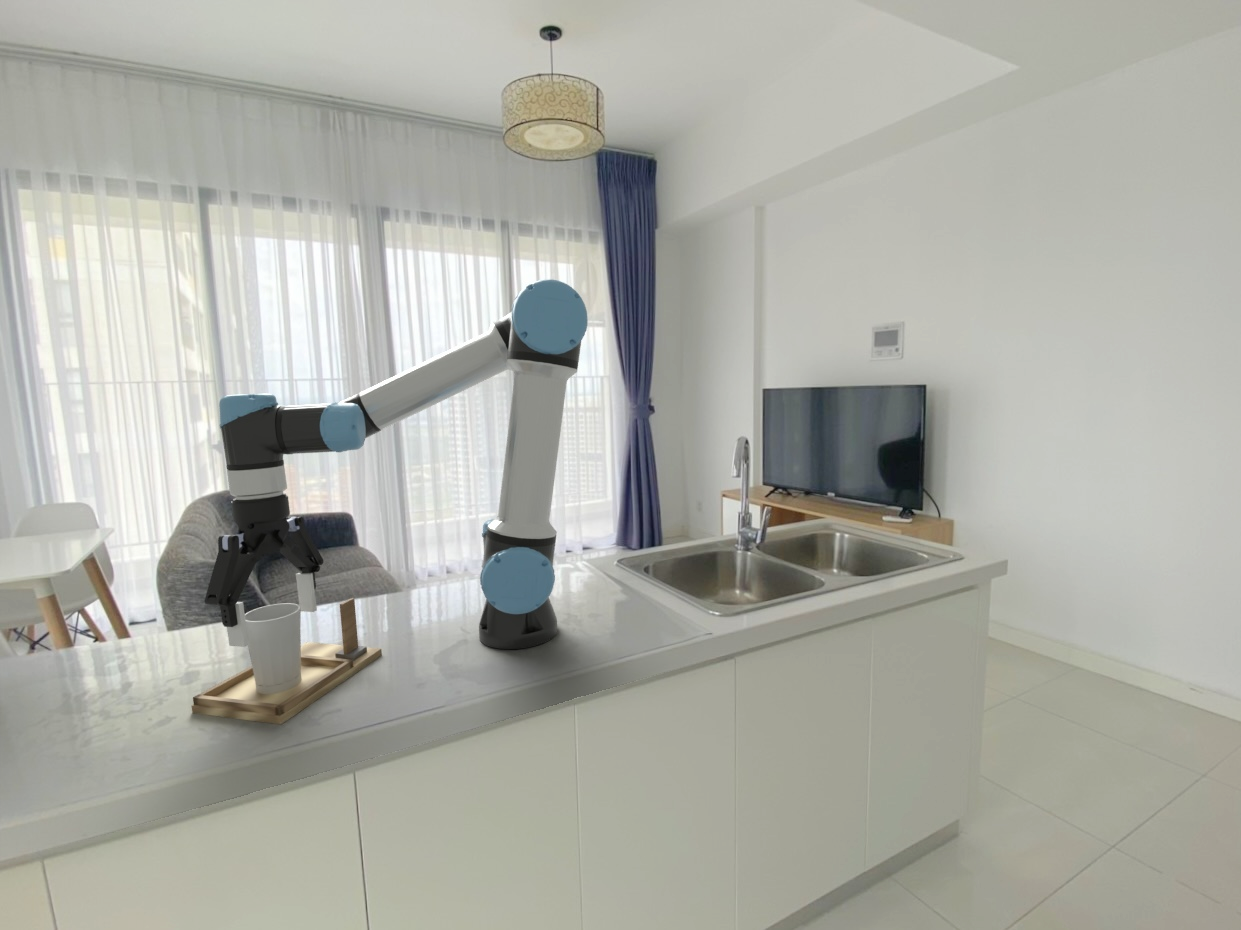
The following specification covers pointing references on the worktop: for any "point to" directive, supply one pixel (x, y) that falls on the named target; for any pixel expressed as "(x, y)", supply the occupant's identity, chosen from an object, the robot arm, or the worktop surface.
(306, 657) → the board
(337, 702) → the worktop surface
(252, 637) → the cup
